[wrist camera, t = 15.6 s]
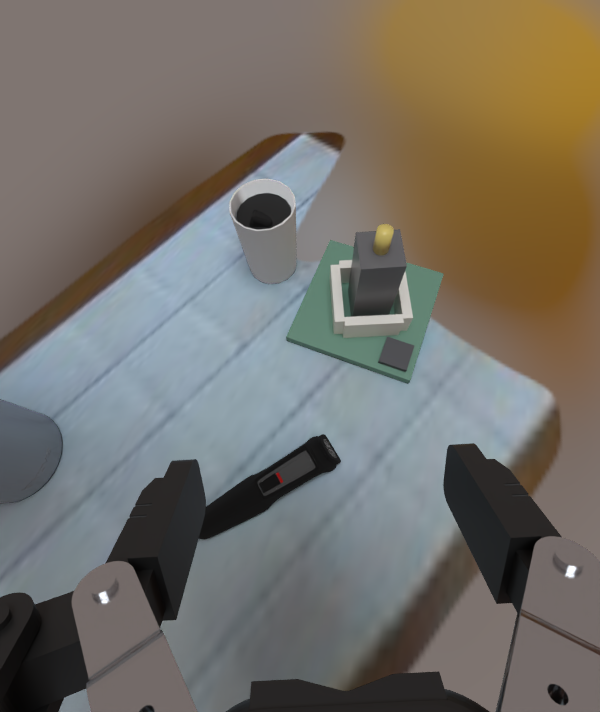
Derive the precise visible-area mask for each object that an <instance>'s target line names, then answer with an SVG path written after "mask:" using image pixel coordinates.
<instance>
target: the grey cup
mask: <svg viewBox="0 0 600 712" xmlns="http://www.w3.org/2000/svg"><path fill="white" fill-rule="evenodd" d="M229 203H230V215H231V217H232V220H233V223H234V226H235V228H236V231H237V234H238V237H239V239H240V242H241V245H242V248H243V251H244V253H245V256H246V259H247V262H248V264H249V267H250V270H251V272H252V274H253V275H254V277H255V278H257V279H258V280H259V281H261V282H264V283H268V284H276V283H281V282H283V281H285V280H287V279H288V278H289V277H290V276H291V275H292V274H293V273H294V271H295V268H296V205H295V196H294V194H293V193H292V191H291V190H290V188H289V187H288V186H286V185H284V184H283V183H281V182H280V181H276V180H271V179H259V180H253V181H251V182H248V183H246V184H244V185H242V186H241V187H240V188H239V189H238V190H236V191H235V192H234V194H233V196H232V198H231V200H230V202H229Z"/></svg>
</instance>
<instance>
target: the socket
mask: <svg viewBox="0 0 600 712" xmlns="http://www.w3.org/2000/svg"><path fill="white" fill-rule="evenodd" d="M351 265H352V260H342V261H339V264H338V265H330V291H331V304H332V317H333V331H334V334H343V338H352V337H372V336H392V335H399V332H400V331H407V329H408V327H409V325H410V323H411V321H412V319H413V314H412V308H411V302H410V296H409V290H408V284H407V278H406V271H405V273H404V275H403V278H402V281H401V284H400V286H399V289H398V292H397V295H396V297H395V300H394V310H395V315H375V316H355V317H344V308H343V297H342V286H341V283H349V279H350V272H351Z"/></svg>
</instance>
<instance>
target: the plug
mask: <svg viewBox="0 0 600 712" xmlns="http://www.w3.org/2000/svg"><path fill="white" fill-rule="evenodd" d="M406 267H407V264H406V259H405V254H404V249H403V243H402V238H401V233H400V229H398V230H393V228H392V227H391V226H390V225H388V224H382V225H380V226H378V228H377V231H371V232H357V233H356V236H355V243H354V250H353V258H352V265H351V272H350V279H349V287H348V296H349V304H350V313H351V317H355V316H375V315H389V314H390V311H391V308H392V305H393V303H394V300H395V297H396V295H397V292H398V289H399V286H400V284H401V281H402V278H403V275H404V273H405V270H406Z"/></svg>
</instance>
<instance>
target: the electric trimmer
mask: <svg viewBox="0 0 600 712" xmlns="http://www.w3.org/2000/svg"><path fill="white" fill-rule="evenodd" d="M340 462H341V460H340V458H339V456H338V455H337V453H336V452H335V450H334V448H333V447H332V445H331V443H330V442H329V440H328V438H327V437H326V436H325V435H324V434H323V435H320V436H319V437H318V436H316V437H312V438H310V439H309V440H308V441H307V442H306V443H305V444H303V445H302V446H300V447H299V448H297V449H296V450H294V451H293V452H291V453H290V454H288V455H287V456H285V457H284V458H282V459H281V460H279V461H278V462H276V463H274V464H273V465H271V466H270V467H268V468H267V469H265V470H263V471H261V472H259V473H257V474H255V475H251V476H250V477H248V478H246V479H245V480H244V481H242V482H241V483H239V484H238V485H236V486H235V487H233V488H232V489H231V490H229V491H228V492H226V493H225V494H224V495H222V496H221V497H219V498H218V499H217V500H215V501H214V502H212V503H211V504H210V505H208V506H207V507H206V510H205V516H204V520H203V524H202V527H201V531H200V535H199V538H198V539H207V538H210V537H213V536H215V535H217V534H219V533H221V532H223V531H225V530H227V529H229V528H232V527H234V526H236V525H238V524H240V523H242V522H244V521H246V520H248V519H250V518H252V517H254V516H256V515H258V514H260V513H262V512H264V511H266V510H267V509H268V508H269V507H270V506H271V504H272V503H274V502H275V501H276V500H277V499H279V498H280V497H282V496H283V495H285V494H287V493H288V492H290V491H292V490H293V489H295V488H297V487H298V486H300V485H302V484H303V483H305V482H307V481H308V480H310V479H312V478H314V477H316V476H317V475H319V474H321V473H324V472H329V471H332V470H333V469H335V468H336V465H337V464H338V463H340Z"/></svg>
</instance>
